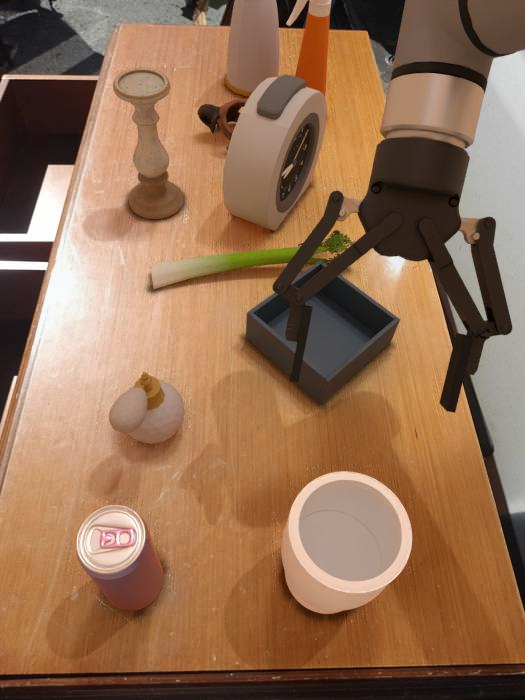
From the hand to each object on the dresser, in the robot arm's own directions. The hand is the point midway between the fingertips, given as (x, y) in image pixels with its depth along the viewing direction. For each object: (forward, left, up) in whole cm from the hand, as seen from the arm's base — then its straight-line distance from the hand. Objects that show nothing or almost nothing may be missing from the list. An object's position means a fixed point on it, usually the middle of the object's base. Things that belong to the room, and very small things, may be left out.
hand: (370, 393), depth 49 cm
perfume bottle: (+19, +12, -20) cm, 30 cm away
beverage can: (+7, +24, -20) cm, 32 cm away
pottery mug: (+57, -35, -20) cm, 70 cm away
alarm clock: (+40, -29, -20) cm, 53 cm away
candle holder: (+52, -14, -20) cm, 57 cm away
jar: (-6, +9, -20) cm, 23 cm away
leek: (+30, -15, -20) cm, 39 cm away
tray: (+15, -13, -20) cm, 28 cm away
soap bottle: (+68, -51, -20) cm, 87 cm away
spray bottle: (+53, -49, -20) cm, 75 cm away
